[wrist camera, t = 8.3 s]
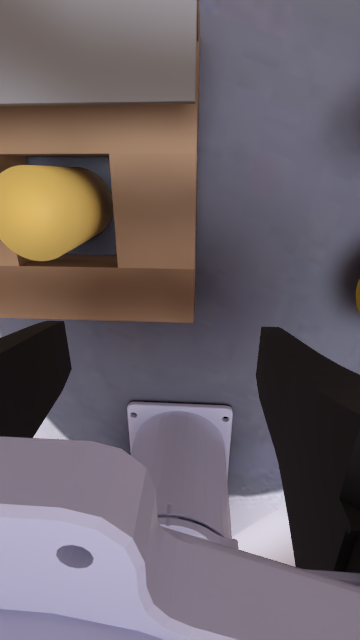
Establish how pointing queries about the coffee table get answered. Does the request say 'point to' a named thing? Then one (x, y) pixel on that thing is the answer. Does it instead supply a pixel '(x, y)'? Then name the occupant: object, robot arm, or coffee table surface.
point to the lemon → (358, 296)
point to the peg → (51, 209)
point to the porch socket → (107, 149)
